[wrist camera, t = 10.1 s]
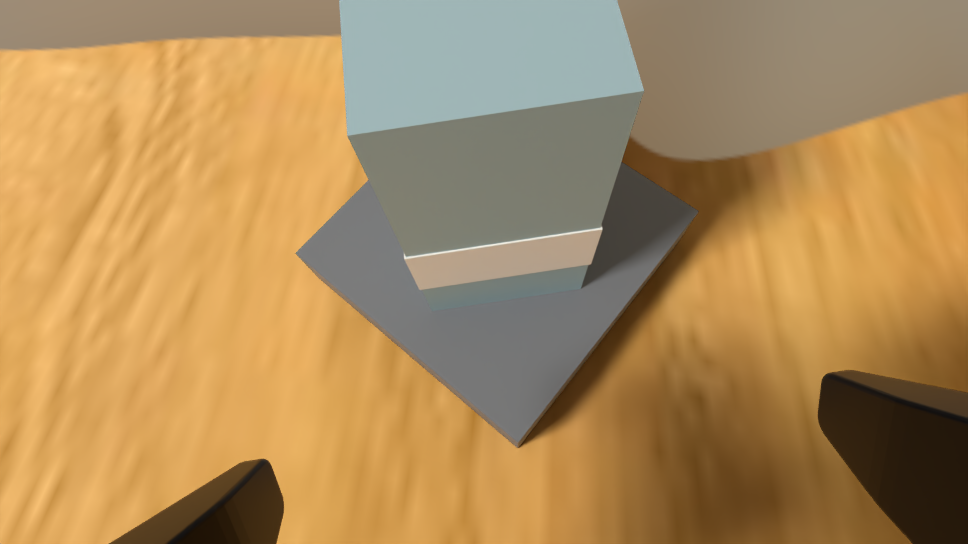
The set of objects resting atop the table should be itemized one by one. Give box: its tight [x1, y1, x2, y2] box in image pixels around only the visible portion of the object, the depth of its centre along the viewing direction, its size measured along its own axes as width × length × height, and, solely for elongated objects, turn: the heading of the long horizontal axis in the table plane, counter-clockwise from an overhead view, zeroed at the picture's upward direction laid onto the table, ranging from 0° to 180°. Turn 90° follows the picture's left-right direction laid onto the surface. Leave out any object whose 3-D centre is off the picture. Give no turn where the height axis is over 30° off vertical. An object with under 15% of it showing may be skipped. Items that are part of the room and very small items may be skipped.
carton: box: [339, 0, 644, 311], centre depth 15 cm, size 5×5×10 cm
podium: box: [296, 162, 699, 448], centre depth 21 cm, size 10×10×2 cm
